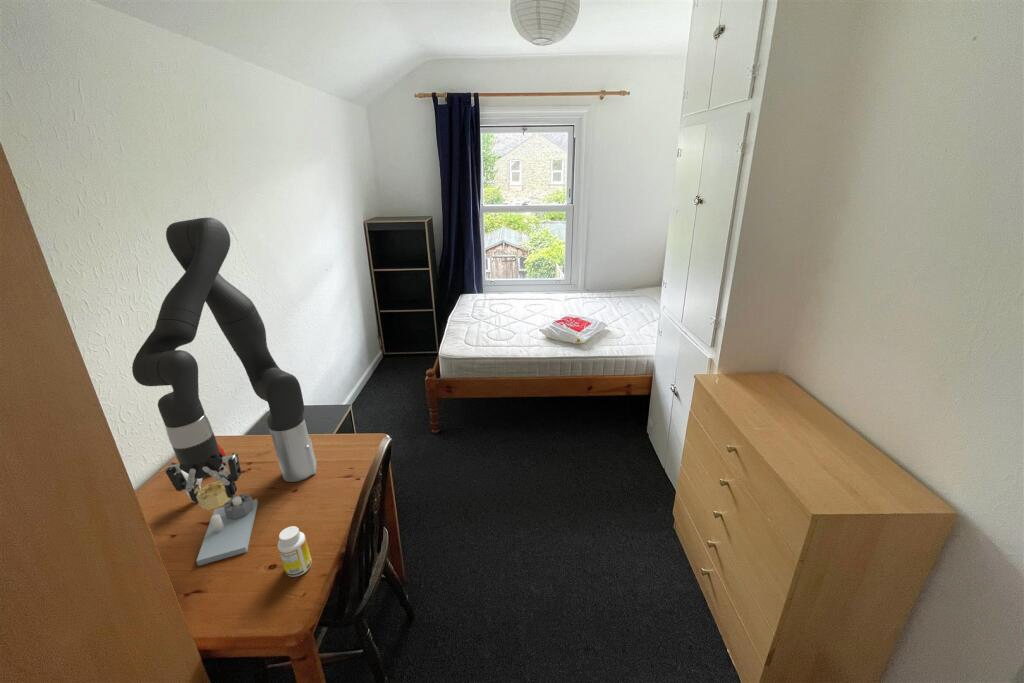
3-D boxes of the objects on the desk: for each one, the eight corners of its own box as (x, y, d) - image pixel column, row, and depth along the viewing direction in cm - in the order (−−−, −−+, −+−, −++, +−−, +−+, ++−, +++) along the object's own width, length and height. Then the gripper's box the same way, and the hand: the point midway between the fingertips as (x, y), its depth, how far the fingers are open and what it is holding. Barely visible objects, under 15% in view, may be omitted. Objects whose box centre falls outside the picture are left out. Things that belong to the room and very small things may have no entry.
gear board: (257, 503, 121) (252, 486, 119) (246, 551, 105) (240, 534, 103) (215, 514, 117) (209, 497, 115) (198, 565, 102) (190, 547, 100)
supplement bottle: (305, 553, 104) (295, 519, 100) (316, 565, 100) (307, 530, 97) (281, 569, 100) (270, 534, 96) (292, 582, 96) (281, 546, 93)
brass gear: (233, 488, 105) (230, 477, 104) (229, 504, 100) (225, 493, 99) (204, 495, 103) (200, 485, 102) (198, 512, 98) (194, 501, 97)
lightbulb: (182, 512, 119) (169, 478, 115) (186, 498, 124) (173, 466, 120) (209, 504, 121) (197, 471, 117) (211, 491, 126) (200, 458, 122)
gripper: (234, 422, 100) (255, 481, 106) (164, 432, 98) (189, 493, 104) (221, 441, 93) (244, 503, 99) (145, 452, 91) (173, 516, 97)
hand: (216, 498), depth 102 cm, fingers closed on brass gear, 6 cm apart
